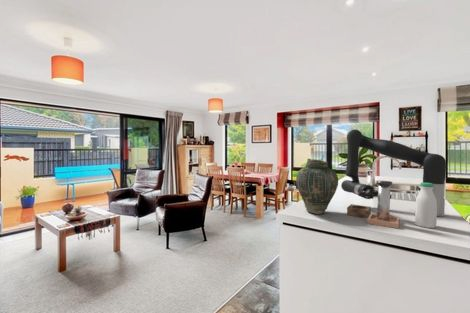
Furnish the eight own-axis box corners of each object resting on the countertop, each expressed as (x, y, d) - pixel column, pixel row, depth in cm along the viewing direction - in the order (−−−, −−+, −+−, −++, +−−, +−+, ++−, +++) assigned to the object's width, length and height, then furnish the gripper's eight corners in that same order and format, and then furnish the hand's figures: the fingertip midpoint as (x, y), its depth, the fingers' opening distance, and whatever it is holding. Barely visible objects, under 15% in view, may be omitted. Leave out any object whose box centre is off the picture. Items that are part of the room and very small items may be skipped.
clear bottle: (391, 220, 114) (392, 181, 114) (390, 224, 109) (391, 182, 109) (376, 218, 118) (377, 180, 118) (374, 221, 113) (375, 181, 112)
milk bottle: (437, 229, 104) (439, 184, 104) (416, 226, 108) (417, 183, 108) (434, 225, 111) (435, 182, 110) (414, 222, 115) (415, 181, 114)
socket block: (370, 214, 129) (371, 206, 129) (368, 218, 121) (368, 210, 121) (350, 211, 135) (351, 204, 135) (347, 214, 127) (347, 207, 127)
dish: (399, 222, 115) (399, 217, 115) (397, 228, 105) (398, 223, 105) (370, 217, 122) (371, 213, 122) (367, 223, 112) (367, 218, 112)
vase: (289, 213, 129) (290, 158, 128) (302, 205, 147) (303, 157, 147) (333, 220, 117) (334, 160, 116) (341, 211, 135) (342, 158, 134)
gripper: (351, 184, 132) (367, 188, 115) (377, 184, 131) (396, 189, 115) (351, 197, 132) (366, 204, 116) (377, 197, 131) (396, 204, 115)
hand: (381, 196), depth 115 cm, fingers open, 8 cm apart
